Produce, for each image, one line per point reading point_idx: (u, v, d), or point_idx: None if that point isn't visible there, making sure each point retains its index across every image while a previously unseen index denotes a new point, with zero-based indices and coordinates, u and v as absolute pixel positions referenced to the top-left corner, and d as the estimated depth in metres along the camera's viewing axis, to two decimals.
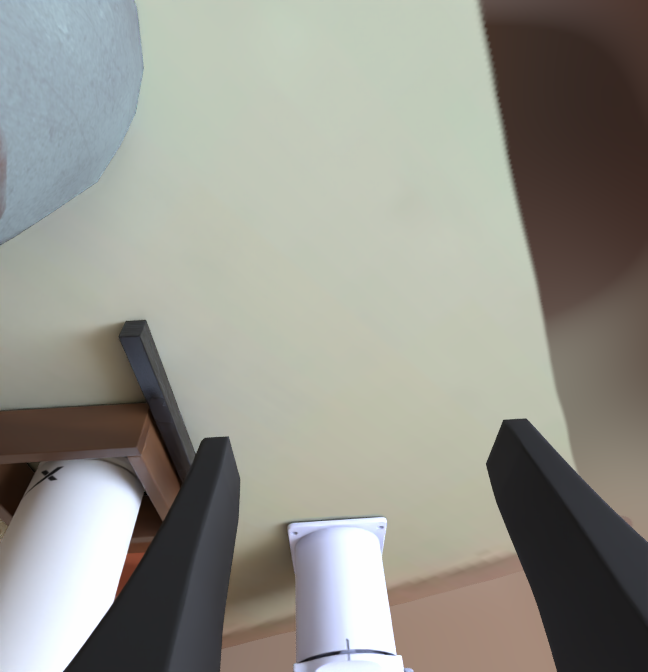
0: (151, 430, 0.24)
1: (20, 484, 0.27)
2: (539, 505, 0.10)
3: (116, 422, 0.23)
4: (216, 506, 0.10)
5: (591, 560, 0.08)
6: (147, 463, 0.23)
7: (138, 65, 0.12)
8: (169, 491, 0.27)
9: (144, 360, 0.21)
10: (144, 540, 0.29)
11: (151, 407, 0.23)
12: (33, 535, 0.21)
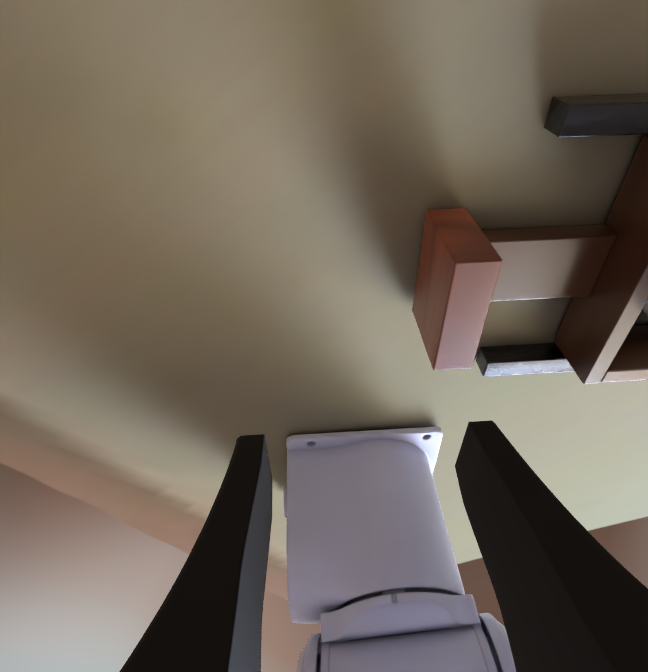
0: None
1: None
2: (500, 508, 0.10)
3: None
4: (257, 503, 0.10)
5: (544, 563, 0.08)
6: None
7: None
8: None
9: None
10: (613, 342, 0.18)
11: None
12: None
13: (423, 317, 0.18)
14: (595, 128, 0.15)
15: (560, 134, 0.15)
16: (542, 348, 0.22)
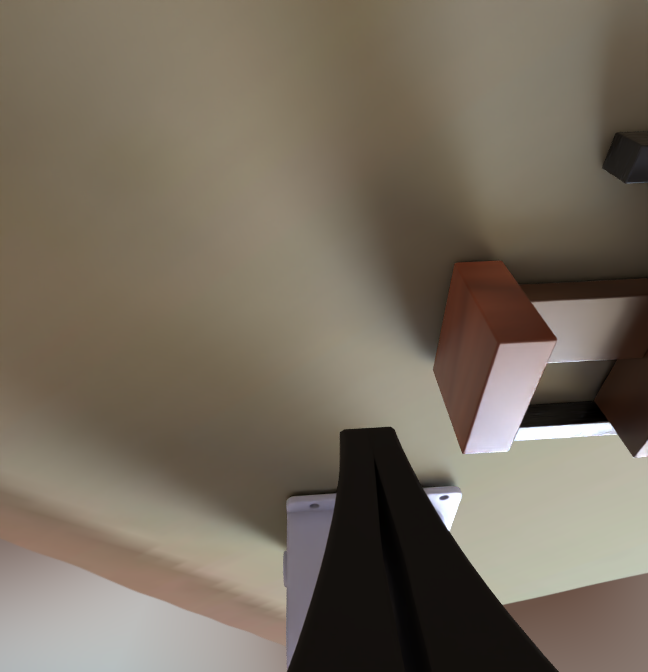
0: None
1: None
2: (384, 515, 0.10)
3: None
4: None
5: (406, 573, 0.08)
6: None
7: None
8: None
9: None
10: None
11: None
12: None
13: (448, 386, 0.15)
14: None
15: (627, 179, 0.12)
16: (580, 408, 0.19)
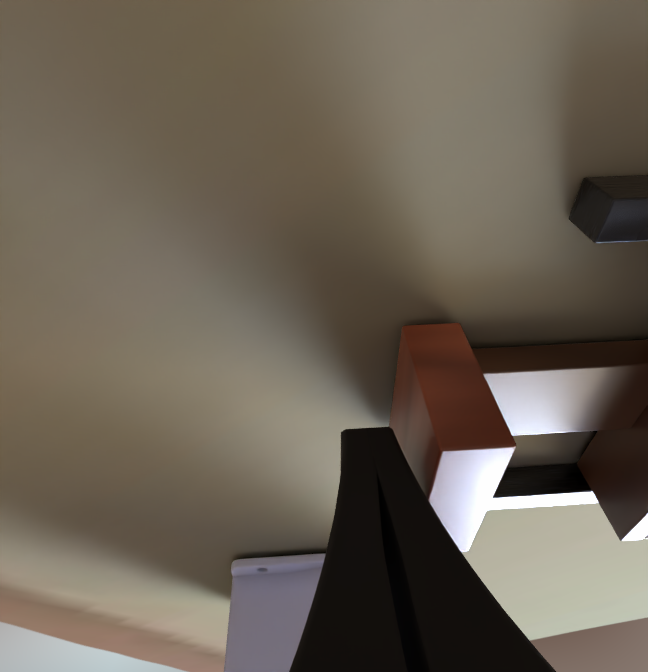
0: None
1: None
2: (382, 515, 0.10)
3: None
4: None
5: (404, 573, 0.08)
6: None
7: None
8: None
9: None
10: None
11: None
12: None
13: None
14: None
15: (597, 239, 0.09)
16: (555, 473, 0.17)
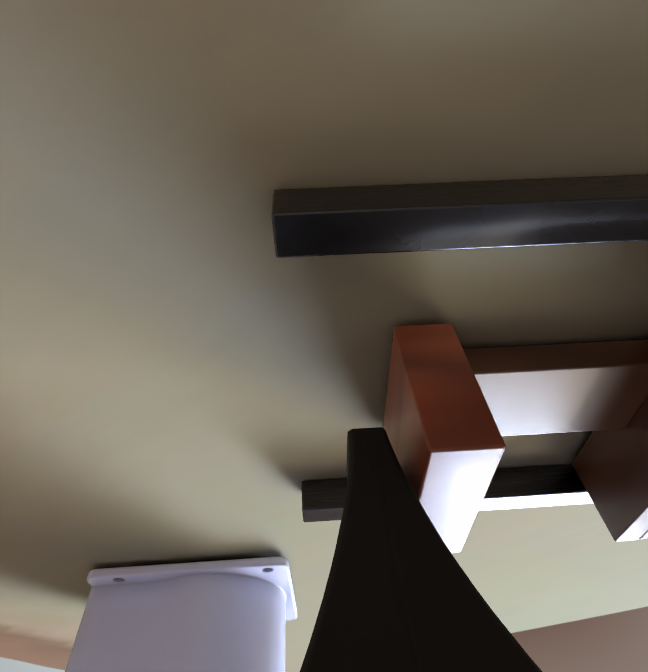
0: None
1: None
2: None
3: None
4: None
5: None
6: None
7: None
8: None
9: None
10: None
11: None
12: None
13: None
14: (332, 245, 0.09)
15: (277, 253, 0.09)
16: None
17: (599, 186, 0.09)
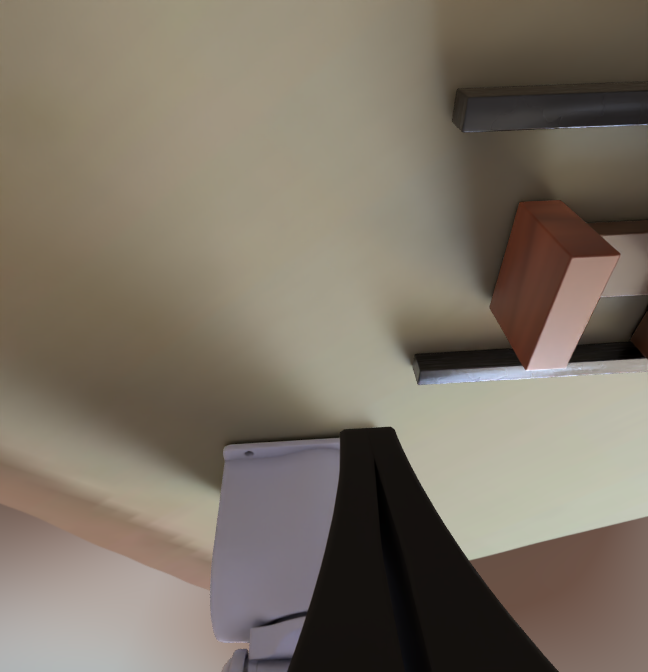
0: None
1: None
2: (384, 515, 0.10)
3: None
4: None
5: (406, 573, 0.08)
6: None
7: None
8: None
9: None
10: None
11: None
12: None
13: (509, 315, 0.17)
14: (500, 122, 0.13)
15: (463, 129, 0.14)
16: (480, 355, 0.21)
17: None
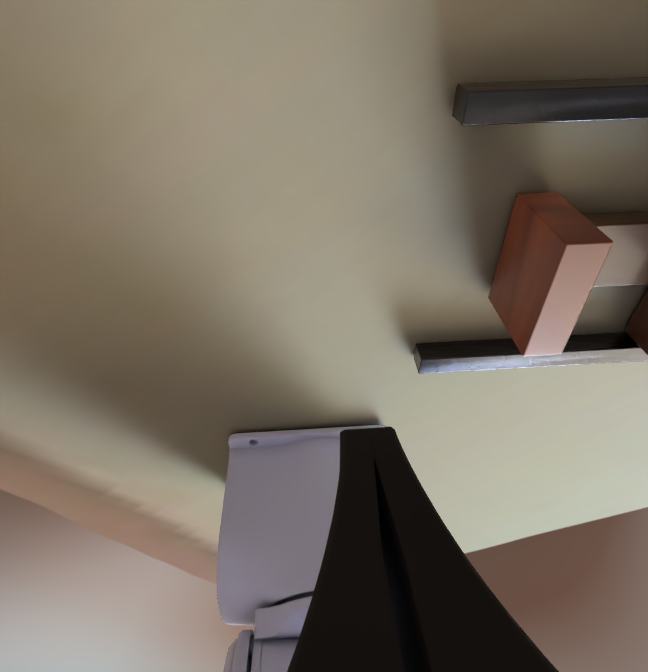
0: None
1: None
2: (384, 515, 0.10)
3: None
4: None
5: (406, 573, 0.08)
6: None
7: None
8: None
9: None
10: None
11: None
12: None
13: (508, 303, 0.18)
14: (499, 116, 0.14)
15: (463, 122, 0.14)
16: (479, 344, 0.22)
17: None
